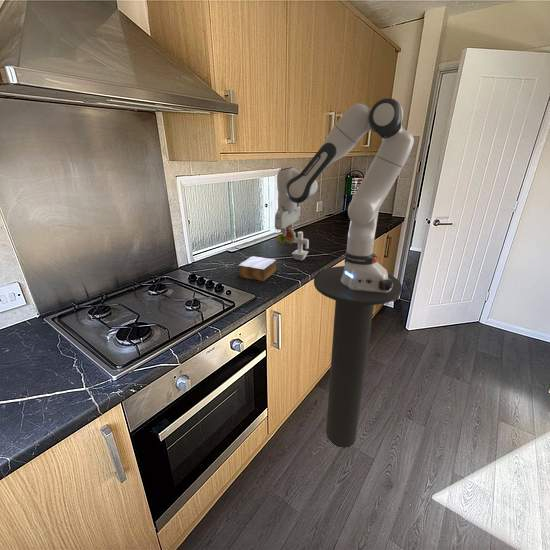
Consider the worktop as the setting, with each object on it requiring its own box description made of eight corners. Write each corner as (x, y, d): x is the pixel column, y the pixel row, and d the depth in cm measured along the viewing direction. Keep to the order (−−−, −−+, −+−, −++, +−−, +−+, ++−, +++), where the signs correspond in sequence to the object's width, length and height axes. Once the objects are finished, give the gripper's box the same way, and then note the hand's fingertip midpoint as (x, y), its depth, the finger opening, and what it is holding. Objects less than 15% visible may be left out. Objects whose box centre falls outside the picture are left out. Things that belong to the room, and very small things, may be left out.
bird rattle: (294, 246, 143) (280, 237, 146) (303, 227, 137) (288, 217, 140) (287, 249, 138) (273, 239, 141) (296, 229, 132) (281, 219, 135)
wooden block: (276, 271, 145) (276, 259, 143) (264, 281, 134) (263, 269, 131) (252, 267, 150) (252, 256, 148) (238, 276, 139) (237, 265, 137)
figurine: (305, 262, 156) (306, 234, 150) (289, 259, 160) (289, 232, 154) (310, 257, 162) (311, 231, 156) (294, 255, 166) (295, 229, 160)
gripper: (283, 209, 124) (284, 240, 130) (301, 201, 141) (301, 229, 146) (270, 208, 127) (271, 239, 132) (289, 201, 144) (289, 229, 149)
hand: (287, 234), depth 139 cm, fingers closed on bird rattle, 4 cm apart
